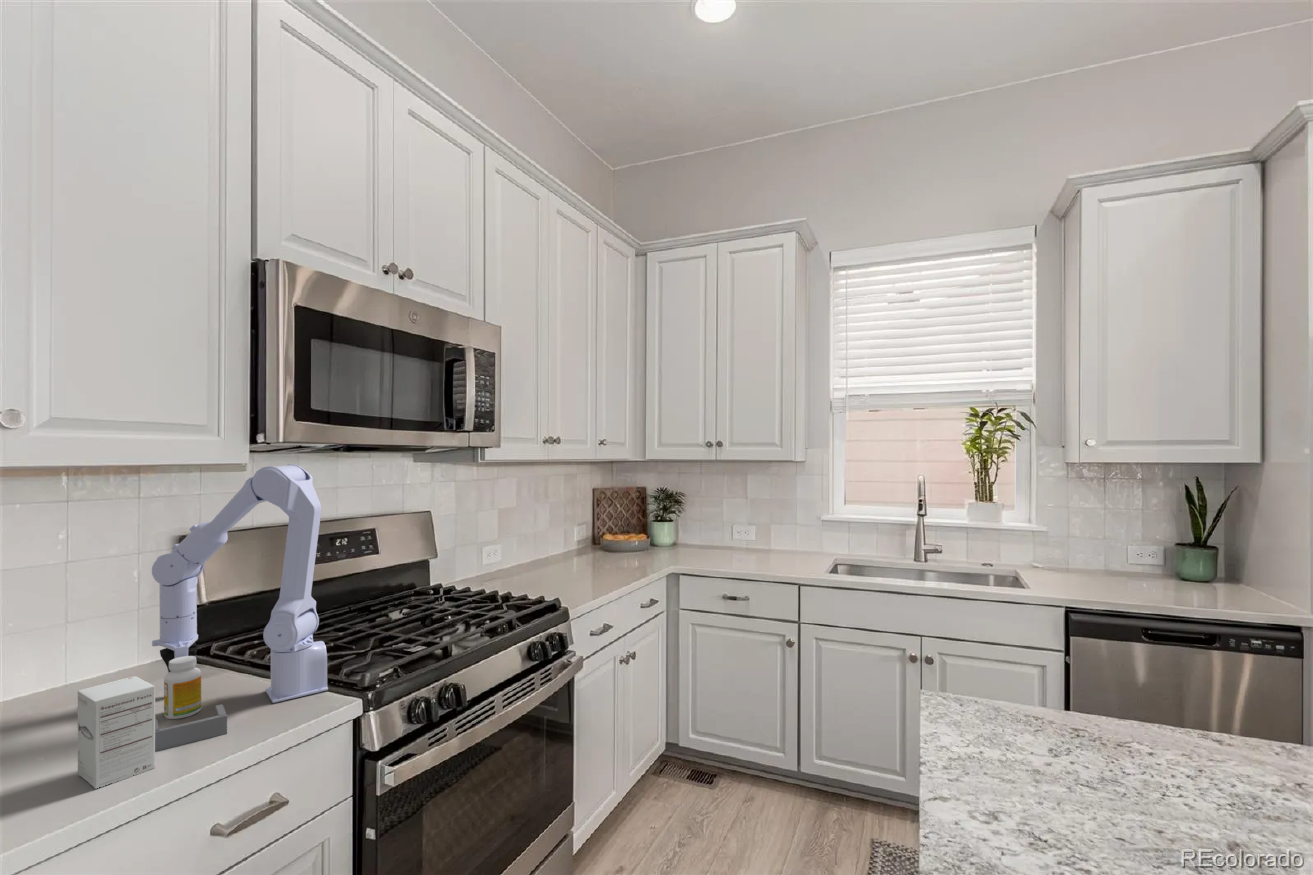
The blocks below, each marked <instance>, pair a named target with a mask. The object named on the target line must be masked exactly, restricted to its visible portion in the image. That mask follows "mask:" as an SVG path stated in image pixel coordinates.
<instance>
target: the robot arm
mask: <svg viewBox="0 0 1313 875" xmlns="http://www.w3.org/2000/svg"><path fill="white" fill-rule="evenodd" d="M313 480H314V479H313V475H311V474H310V473H309V472H308V471H307V470H305V468H303V467H302V466H300V465H298V464H295V463H292V464H291V463H290V464H285V465H278V466H272V465H270V466H269V465H268V466H264V467H261V468H260V469H258V470H256V472H255V473H254V475H253V476H251V477H249V478H247V480H245V481H244V484H243V486H241V488H240V489H239V490H238V492H237V493H236V494H235V495H234V496H233V497H231V499H230V500H229V501H228V502H227V503H226V505H224V507H223V508H222V509H221V510H220V511H219V513H217V515H216V516H215V517H214V518H213V519H212V520H211V521H201V522H199V523H198V524H193V525H192V526H191V527H190V528H189V529H188V530H189V531H190V532H189V534H188V535H186V536H185V538H184V539H183V540H182V541H180V543H175V544H174V545H173V546H172V548H171V549H172V551H171V553H165V554H162V555H160V556H158V557H157V558H156V560H155V561H154V562H153V565H152V568H151V576H152V577H153V579H154V581H155V582H157V583H158V584H159V639H155V640H154V639H153V640H152V641H151V645H152V647H163V649H160V650H159V653H160V657H161V660H163V662H164V664H165V665H166V668H167V671H168V672H167V673H169V672H171V671H170V670H169V661H170V660H172V659H175V658H179V657H184V656H195V657H196V654H197V652H198V647H197V644H196V641H198V640H199V634H198V620H197V619H198V618H197V617H198V613H197V611H198V608H197V607H198V606H197V599H198V598H197V596H198V595H197V592H198V590H197V589H198V588H197V587H198V586H197V585H198V583H199V582H198V580H199V577H200V575H201V574H202V572H203V570H204V568H205V564H206V563H207V561H209V559H211V558H212V557H213V556H214V555H215V554H216V553H217V552H218V551H219V550H220V549H221V548H222V547H223V546H224V545H225V544H226V543H227V541H228V539H229V538H228V532H229V531H230V530H231V529H232V528H233V527H235V525H236V524H238V523H239V522H240V521H241V520H242V519H243V518H245V516H246V515H248V513H250V512H251V511H252V510H253V509H254V508H255V507H257V506H258V505H259V504H261V503H265V502H268V503H270V504H272V505H274V506H276V507H278V508H279V509H280V510H282V511H283V512H284V513H285V515H287V516H288V522H287V523H288V525H287V532H286V541H285V549H284V558H283V566H282V574H281V579H280V580H281V582H280V590H279V598H278V600H277V602H276V603H275V605H274V607H273V608H272V609H271V612H270V619H269V620H268V623H267V624H266V626H265V627H264V629H263V632H262V633H263V635H262V636H263V637H262V638H263V641H264V643H265V645H266V646H267V647H268V648H269V649H270V687H265V690H264V691H265V693H266V694H267V696H268V698H269V699H270V701H271V703H272V704H273V703H279V702H284V701H288V700H291V699H296V698H300V697H301V698H302V697H304V696H309V695H313V694H317V693H318V694H319V693H321V692H326V691H328V690H329V687H328V653H327V647H326V644H325V642H324V641H323V640H319V641H318V640H317V641H314V638H313V637H314V633H315V632H316V631H317V630H318V628H319V623H320V616H319V615H318V613H317V601H316V600H315V599H314V598H313V596H312V589H313V583H314V582H313V581H314V573H315V572H314V571H315V566H316V564H315V563H316V556H317V549H318V548H317V547H318V540H319V532H320V526H321V525H320V523H321V515H322V504H321V502H320V500H319V497H318V495H317V494H318V493H317V491H316V489H315V487H314V485H313V482H314V481H313Z"/></svg>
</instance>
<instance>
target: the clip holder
mask: <svg viewBox="0 0 1313 875" xmlns="http://www.w3.org/2000/svg"><path fill="white" fill-rule="evenodd" d="M158 722H159V721H158V719H157V718H155V752H159V751H163V750H167V749H171V748H176V747H180V746H182V745H186V744H191V743H195V742H198V741H202V740H203V741H204V740H207V739H211V738H214V737H219V736H222V735H226V734H228V715H227V711H226V709H225V707H224V705H223V703H222V704H217V705H215V715H214V716H211V717H206V718H201V719H198V720H194V721H189V722H185V723H181V724H176V725H172V726H168V727H163V728H160V727H159V723H158Z"/></svg>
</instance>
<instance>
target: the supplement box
mask: <svg viewBox="0 0 1313 875" xmlns="http://www.w3.org/2000/svg"><path fill="white" fill-rule="evenodd" d="M155 719H156V686H155V685H154V684H152V683H150V682H148V681H146V680H144V679H142V678H140V677H139V676H137V675H135V676H130V677H125V678H121V679H116V680H114V681H110V682H106V683H102V684H98V685H94V686H90V687H87V688H83V689H79V690H77V775H78V776H79V777H81V778H82V779H84V780H85V781H87V783H89V785H90V786H92V787H93V788H94V789H96V790H97V788H98V789H100V788H99V787H101V788H103V786H104V787H106V786H105V785H107V786H109V785H108V784H110V783H112V784H115V783H117V781H118V782H120V780H121V781H124V780H125V779H129V778H131V777H134V776H133V775H135V776H137V775H136V774H138V775H140V774H143V773H146V772H148V770H149V771H150V769H151V770H153V769H155V768H156V751H155ZM145 771H146V772H145ZM142 772H143V773H142ZM110 785H111V784H110Z"/></svg>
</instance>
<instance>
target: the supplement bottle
mask: <svg viewBox="0 0 1313 875" xmlns="http://www.w3.org/2000/svg"><path fill="white" fill-rule="evenodd" d="M196 666H197V656H196V655H195V656H184V657H179V658H175V659H172V660H170V661H169V670H170V671H171V672H167V673H166V675H164V677H163V715H164V718H166V719H168V720H177V719H178V720H179V719H184V718H188V717H191V716H193V715H194V716H195V715H196V714H197V713H199V712H200V711H201V710H202V671H201V669H200V668H198V667H196Z"/></svg>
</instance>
